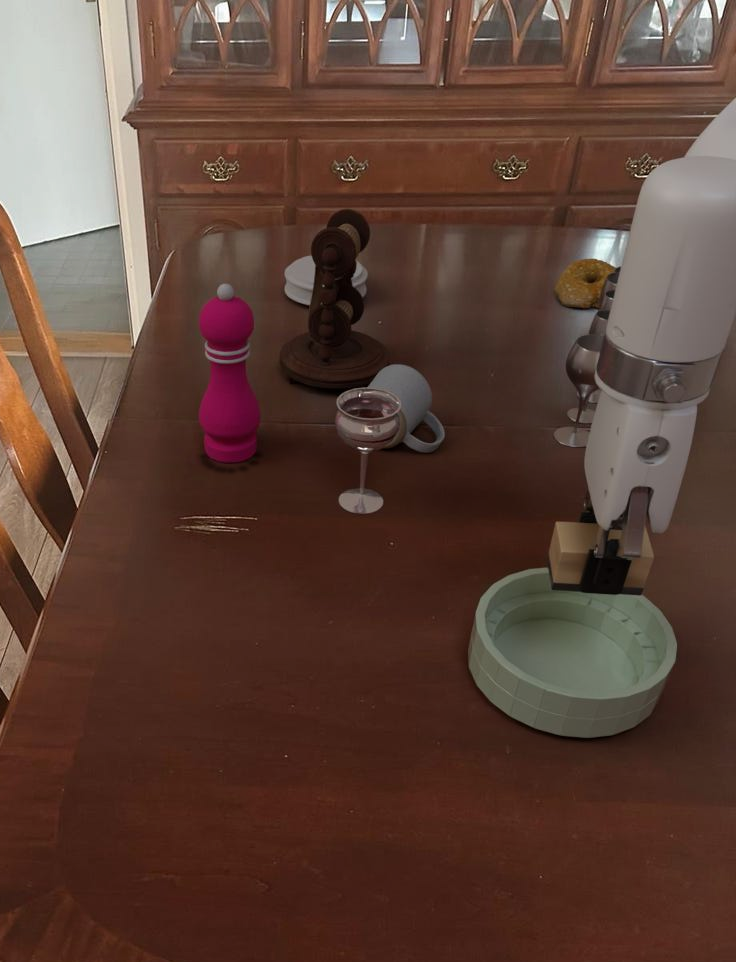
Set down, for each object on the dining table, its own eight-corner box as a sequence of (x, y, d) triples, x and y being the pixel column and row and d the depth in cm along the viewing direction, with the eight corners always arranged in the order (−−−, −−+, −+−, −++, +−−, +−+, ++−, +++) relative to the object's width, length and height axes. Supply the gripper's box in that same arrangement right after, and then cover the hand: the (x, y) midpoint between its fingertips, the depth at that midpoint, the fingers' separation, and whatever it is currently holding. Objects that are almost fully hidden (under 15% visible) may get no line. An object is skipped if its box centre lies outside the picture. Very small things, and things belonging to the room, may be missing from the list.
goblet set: (590, 347, 130) (614, 251, 120) (632, 355, 128) (660, 258, 119) (544, 443, 111) (568, 338, 102) (592, 454, 109) (622, 348, 100)
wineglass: (320, 491, 104) (325, 394, 96) (374, 478, 106) (383, 382, 98) (346, 524, 100) (353, 425, 91) (402, 510, 101) (413, 412, 93)
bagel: (538, 299, 142) (545, 268, 138) (579, 279, 147) (586, 249, 144) (595, 319, 136) (603, 287, 133) (635, 298, 142) (644, 267, 138)
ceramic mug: (345, 444, 111) (350, 386, 106) (371, 413, 117) (377, 356, 111) (429, 466, 108) (438, 408, 103) (451, 434, 113) (461, 376, 108)
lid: (304, 274, 150) (305, 242, 146) (377, 287, 145) (380, 255, 142) (270, 304, 141) (270, 271, 138) (347, 318, 137) (349, 285, 134)
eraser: (633, 564, 77) (645, 525, 74) (641, 596, 74) (654, 556, 71) (546, 559, 77) (555, 520, 75) (551, 590, 74) (561, 551, 72)
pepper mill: (195, 463, 109) (185, 296, 95) (206, 432, 114) (197, 269, 100) (256, 467, 108) (254, 299, 94) (264, 435, 113) (263, 272, 100)
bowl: (640, 619, 88) (656, 574, 84) (675, 752, 76) (696, 707, 72) (463, 605, 90) (472, 561, 86) (470, 734, 78) (480, 689, 74)
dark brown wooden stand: (298, 341, 132) (301, 192, 118) (399, 356, 128) (415, 205, 115) (264, 388, 122) (264, 232, 108) (373, 406, 118) (387, 247, 104)
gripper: (746, 430, 56) (662, 646, 69) (688, 311, 68) (626, 514, 81) (618, 424, 57) (558, 639, 70) (583, 308, 69) (538, 510, 82)
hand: (595, 570), depth 75 cm, fingers closed on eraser, 4 cm apart
